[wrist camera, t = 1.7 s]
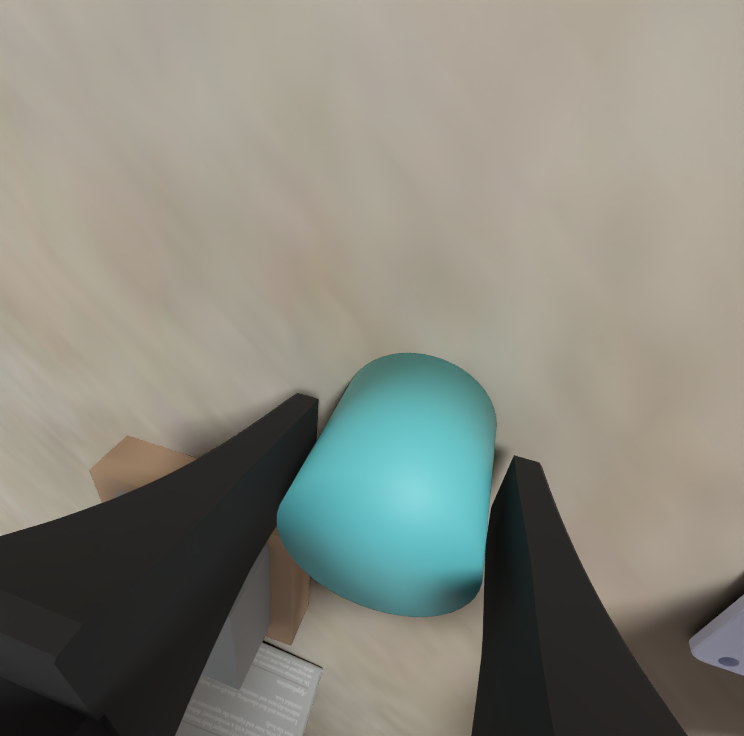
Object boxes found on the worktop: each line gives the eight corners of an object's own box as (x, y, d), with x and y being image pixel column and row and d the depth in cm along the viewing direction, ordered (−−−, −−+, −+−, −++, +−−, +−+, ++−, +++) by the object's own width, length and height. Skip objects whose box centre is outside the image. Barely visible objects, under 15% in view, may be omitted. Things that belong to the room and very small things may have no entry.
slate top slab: (269, 545, 15) (230, 616, 13) (270, 624, 19) (239, 690, 17) (119, 490, 16) (62, 549, 14) (148, 575, 20) (104, 632, 18)
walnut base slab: (320, 484, 17) (291, 540, 15) (313, 592, 21) (291, 645, 19) (138, 425, 18) (88, 470, 16) (169, 539, 23) (134, 584, 21)
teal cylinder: (517, 377, 11) (512, 524, 7) (474, 490, 14) (454, 639, 10) (352, 334, 12) (274, 449, 8) (340, 449, 14) (277, 574, 11)
